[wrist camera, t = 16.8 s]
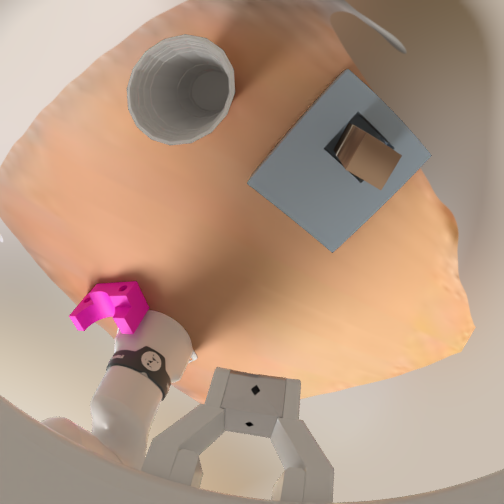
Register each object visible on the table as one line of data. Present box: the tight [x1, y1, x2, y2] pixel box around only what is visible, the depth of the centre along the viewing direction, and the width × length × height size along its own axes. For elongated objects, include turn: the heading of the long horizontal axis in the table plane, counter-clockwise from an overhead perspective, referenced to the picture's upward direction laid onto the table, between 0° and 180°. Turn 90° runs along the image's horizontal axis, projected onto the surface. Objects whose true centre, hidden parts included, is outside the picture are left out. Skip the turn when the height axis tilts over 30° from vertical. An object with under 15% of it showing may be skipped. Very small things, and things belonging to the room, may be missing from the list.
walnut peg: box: [334, 123, 402, 190], centre depth 28 cm, size 4×4×10 cm
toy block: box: [69, 281, 149, 334], centre depth 50 cm, size 15×6×8 cm, turn 102°
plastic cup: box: [127, 34, 235, 145], centre depth 27 cm, size 11×11×12 cm
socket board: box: [247, 69, 432, 253], centre depth 33 cm, size 18×14×4 cm
